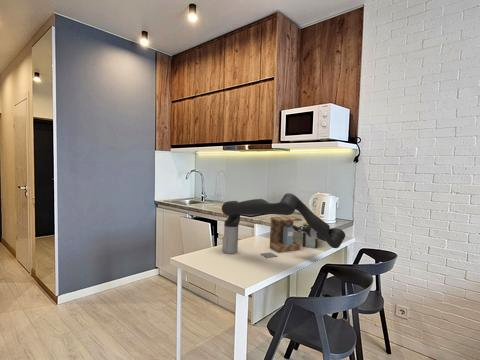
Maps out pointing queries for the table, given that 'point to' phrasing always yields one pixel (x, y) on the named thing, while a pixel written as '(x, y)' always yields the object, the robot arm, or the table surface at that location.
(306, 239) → the protein box
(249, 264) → the table surface
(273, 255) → the mat
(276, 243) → the shelf
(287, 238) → the carton
